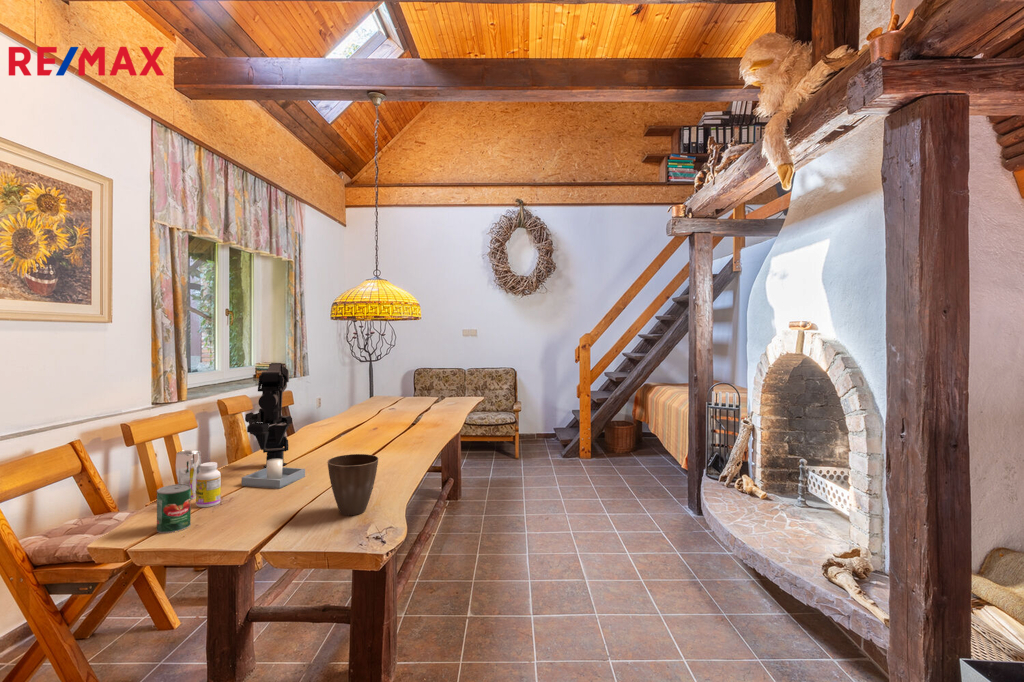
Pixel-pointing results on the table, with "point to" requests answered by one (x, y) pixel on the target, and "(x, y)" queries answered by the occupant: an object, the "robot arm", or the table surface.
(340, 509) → the plant pot
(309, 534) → the table surface
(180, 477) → the light grey tall piece
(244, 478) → the tray
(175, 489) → the canned tomato
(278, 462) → the cream rounded block
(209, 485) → the supplement bottle
